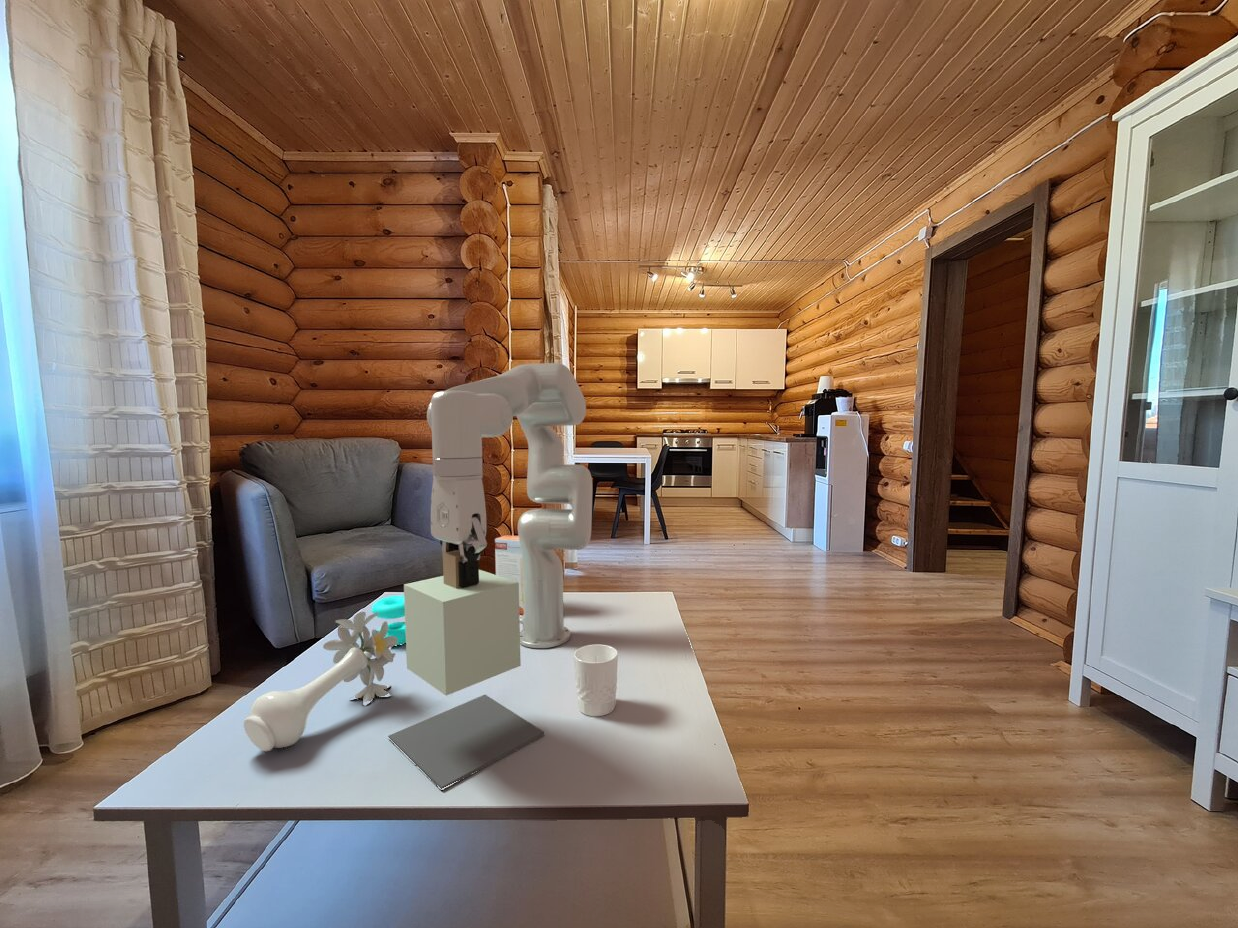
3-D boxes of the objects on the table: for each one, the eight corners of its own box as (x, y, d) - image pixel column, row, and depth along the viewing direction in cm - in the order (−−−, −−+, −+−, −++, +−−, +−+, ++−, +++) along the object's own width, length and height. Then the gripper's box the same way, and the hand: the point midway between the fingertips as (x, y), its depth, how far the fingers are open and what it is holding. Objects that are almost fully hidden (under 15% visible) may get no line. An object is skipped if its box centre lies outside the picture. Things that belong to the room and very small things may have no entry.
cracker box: (549, 610, 144) (548, 537, 142) (537, 618, 138) (535, 541, 137) (509, 604, 150) (507, 533, 148) (495, 611, 144) (493, 537, 143)
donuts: (413, 591, 130) (419, 602, 122) (414, 629, 131) (421, 643, 122) (369, 598, 125) (373, 609, 117) (371, 638, 126) (375, 652, 117)
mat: (388, 739, 84) (388, 735, 84) (485, 697, 97) (485, 694, 97) (441, 791, 71) (441, 787, 71) (544, 735, 84) (544, 731, 84)
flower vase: (295, 796, 80) (413, 687, 102) (272, 708, 73) (404, 610, 95) (240, 763, 85) (365, 665, 106) (214, 677, 78) (353, 591, 100)
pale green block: (406, 668, 83) (402, 553, 82) (478, 643, 92) (475, 540, 91) (446, 695, 74) (441, 567, 73) (520, 665, 83) (517, 551, 82)
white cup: (613, 720, 88) (612, 664, 88) (569, 716, 90) (568, 660, 89) (622, 697, 96) (621, 645, 95) (581, 693, 98) (580, 642, 97)
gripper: (411, 468, 84) (415, 578, 85) (463, 473, 73) (467, 599, 74) (453, 466, 90) (456, 569, 91) (508, 470, 78) (511, 587, 79)
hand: (461, 581), depth 82 cm, fingers closed on pale green block, 4 cm apart
